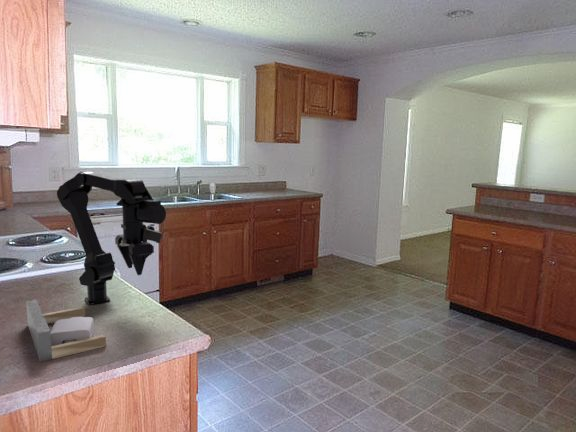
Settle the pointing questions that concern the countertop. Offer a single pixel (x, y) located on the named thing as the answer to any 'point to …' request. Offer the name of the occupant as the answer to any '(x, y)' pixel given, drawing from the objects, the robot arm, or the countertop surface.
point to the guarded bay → (43, 336)
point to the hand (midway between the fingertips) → (134, 271)
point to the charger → (71, 330)
